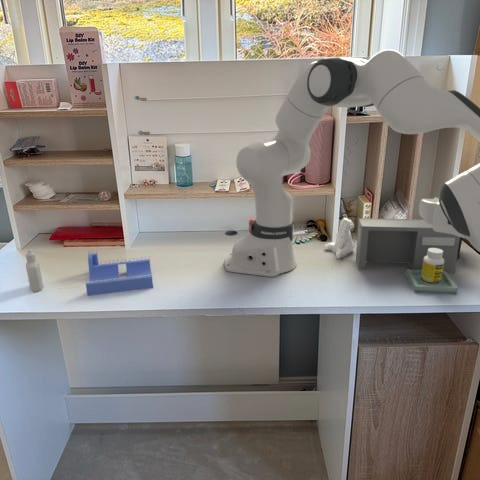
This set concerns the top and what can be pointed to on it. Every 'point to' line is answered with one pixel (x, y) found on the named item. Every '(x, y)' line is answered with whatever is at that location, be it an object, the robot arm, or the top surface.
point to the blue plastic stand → (117, 276)
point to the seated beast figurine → (342, 240)
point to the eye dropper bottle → (33, 272)
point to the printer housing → (403, 243)
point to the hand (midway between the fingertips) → (456, 200)
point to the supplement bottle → (432, 267)
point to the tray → (443, 287)
